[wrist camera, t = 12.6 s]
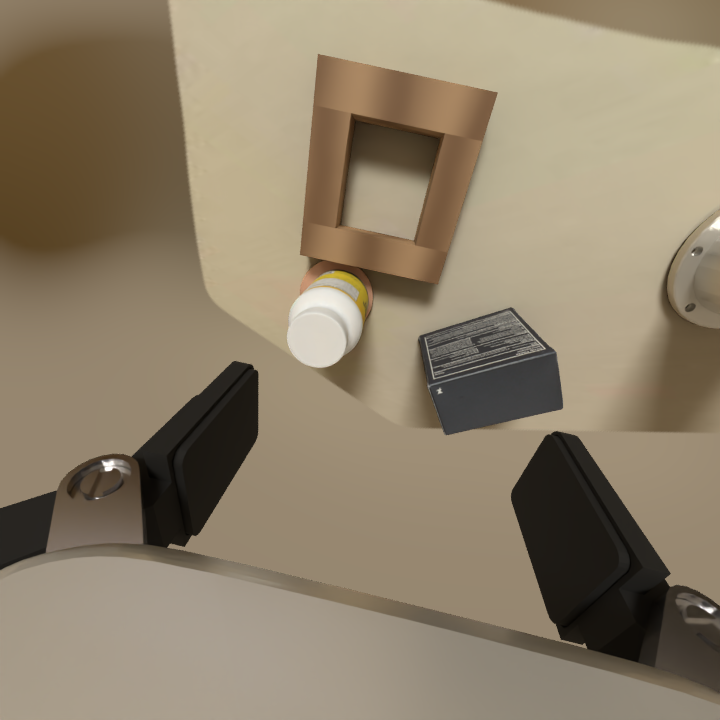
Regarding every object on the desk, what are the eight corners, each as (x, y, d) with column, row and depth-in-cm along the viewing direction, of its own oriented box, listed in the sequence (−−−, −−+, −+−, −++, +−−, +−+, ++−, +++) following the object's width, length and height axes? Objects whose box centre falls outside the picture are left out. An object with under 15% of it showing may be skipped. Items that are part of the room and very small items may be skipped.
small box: (432, 380, 39) (443, 440, 30) (416, 335, 36) (423, 384, 27) (523, 356, 36) (566, 413, 27) (513, 304, 33) (557, 348, 24)
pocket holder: (487, 102, 26) (497, 92, 23) (434, 276, 33) (437, 284, 30) (326, 67, 26) (318, 54, 23) (307, 249, 33) (300, 254, 30)
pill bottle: (339, 336, 36) (317, 392, 26) (298, 294, 35) (257, 337, 24) (382, 300, 34) (375, 347, 24) (340, 253, 32) (314, 282, 22)
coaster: (380, 267, 33) (379, 268, 32) (365, 335, 37) (364, 337, 36) (305, 251, 33) (303, 252, 32) (298, 321, 37) (297, 323, 36)
